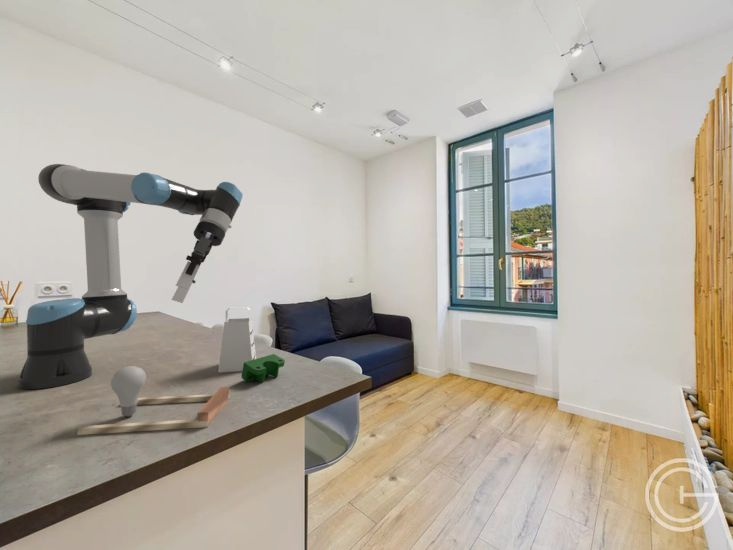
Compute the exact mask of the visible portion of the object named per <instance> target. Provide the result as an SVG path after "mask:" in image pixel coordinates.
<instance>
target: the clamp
mask: <svg viewBox="0 0 733 550" xmlns="http://www.w3.org/2000/svg"><path fill="white" fill-rule="evenodd" d="M285 362H286V360H285V359H284V358H282V357H280V356H279V355H277V354H275V353H272V354H269V355H266V356H265V355H264V356H262V357H258V358H256V359H254V360H251V361H248V362H244V364H243V370H242V371H241V379H242V380H243V381H245V382H247V383H249V382H252V381H255V380H257V381H259V382H260V383H265V379H266V376H272V377H274V378H278V376H279V371H280V368H283V367H285Z"/></svg>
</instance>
